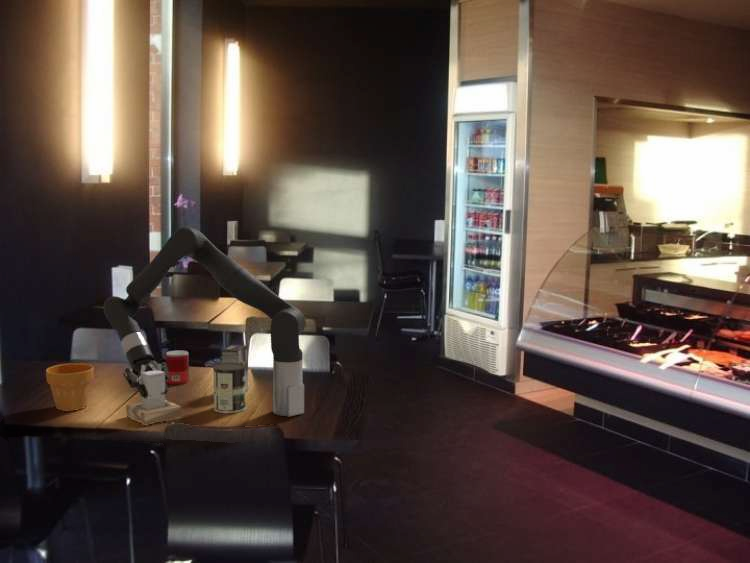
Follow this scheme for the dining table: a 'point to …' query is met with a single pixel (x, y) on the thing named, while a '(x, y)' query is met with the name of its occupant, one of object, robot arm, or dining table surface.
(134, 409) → the frame
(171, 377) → the canned food
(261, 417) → the dining table surface
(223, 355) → the coffee box
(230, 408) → the coffee can
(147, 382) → the skincare box
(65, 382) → the flower pot
